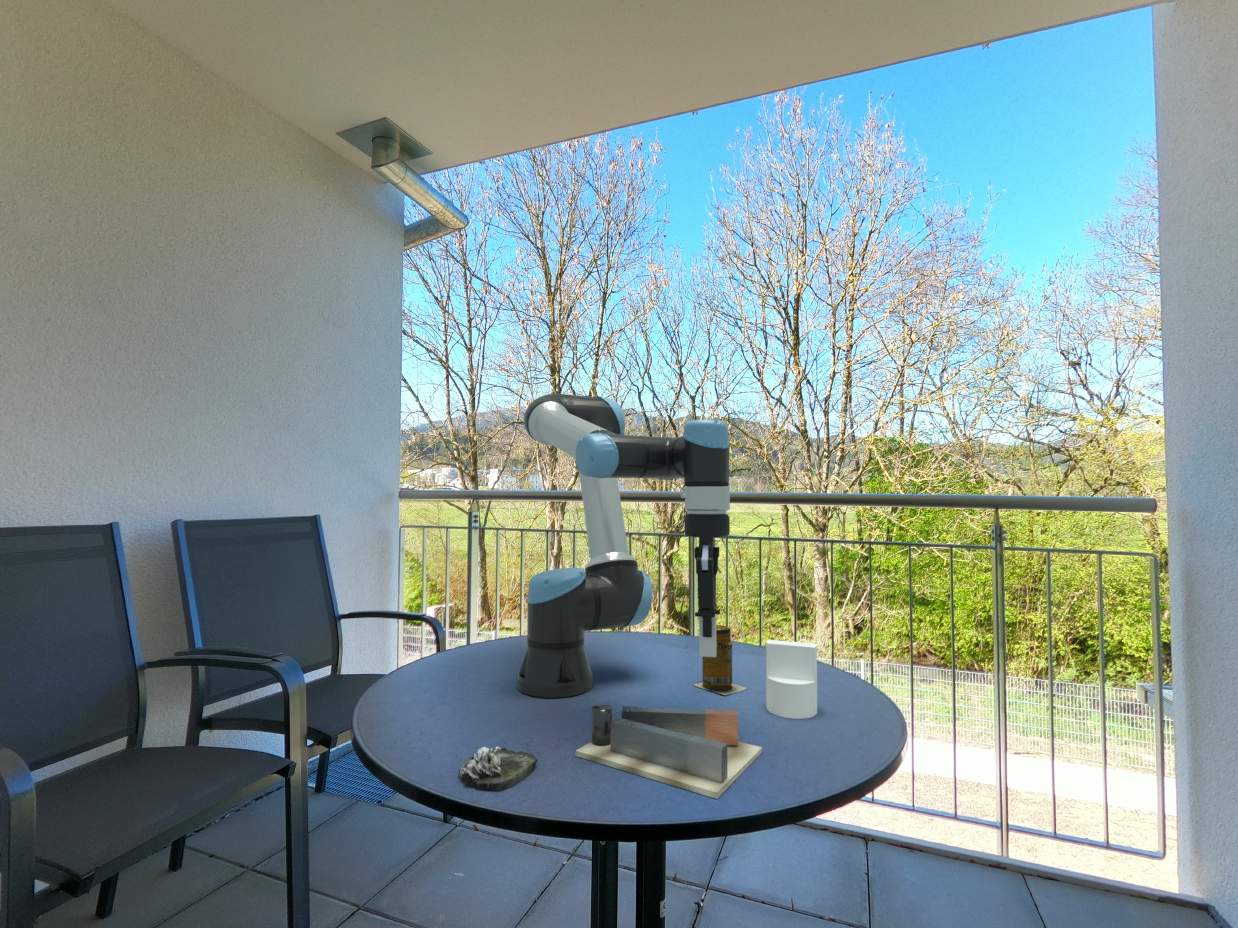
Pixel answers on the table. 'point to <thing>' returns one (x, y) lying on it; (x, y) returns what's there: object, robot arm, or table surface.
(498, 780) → the log
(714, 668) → the condiment
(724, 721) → the tong arm
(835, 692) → the table surface
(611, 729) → the tongs fixed
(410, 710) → the table surface
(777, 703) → the base with upright slab
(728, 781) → the board
